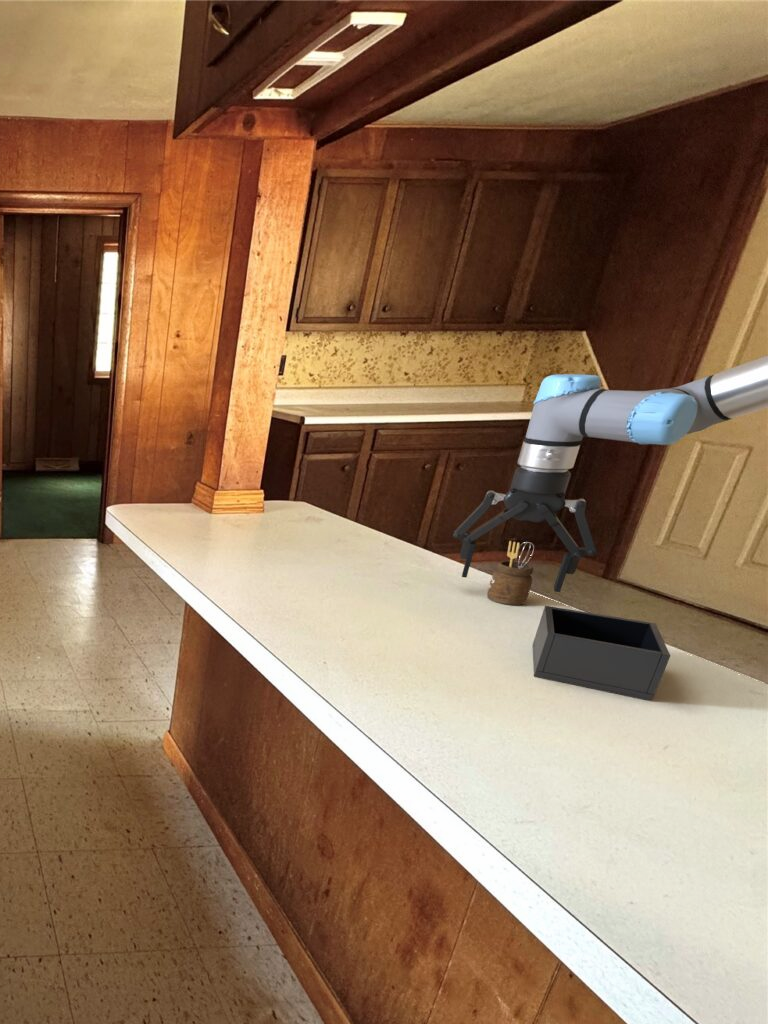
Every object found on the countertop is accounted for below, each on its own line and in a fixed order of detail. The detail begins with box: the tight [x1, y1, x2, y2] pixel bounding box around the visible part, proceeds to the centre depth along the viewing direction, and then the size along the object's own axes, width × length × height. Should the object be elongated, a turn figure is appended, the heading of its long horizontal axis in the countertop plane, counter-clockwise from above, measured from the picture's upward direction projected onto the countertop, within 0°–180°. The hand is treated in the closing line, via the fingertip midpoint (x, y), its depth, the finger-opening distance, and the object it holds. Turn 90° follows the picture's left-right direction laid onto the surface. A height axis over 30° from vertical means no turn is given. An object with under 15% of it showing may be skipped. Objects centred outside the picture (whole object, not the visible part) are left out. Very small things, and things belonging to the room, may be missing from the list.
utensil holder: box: [486, 540, 535, 606], centre depth 121 cm, size 6×6×12 cm
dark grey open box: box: [532, 605, 671, 702], centre depth 97 cm, size 13×13×7 cm
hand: (509, 582), depth 123 cm, fingers open, 13 cm apart
